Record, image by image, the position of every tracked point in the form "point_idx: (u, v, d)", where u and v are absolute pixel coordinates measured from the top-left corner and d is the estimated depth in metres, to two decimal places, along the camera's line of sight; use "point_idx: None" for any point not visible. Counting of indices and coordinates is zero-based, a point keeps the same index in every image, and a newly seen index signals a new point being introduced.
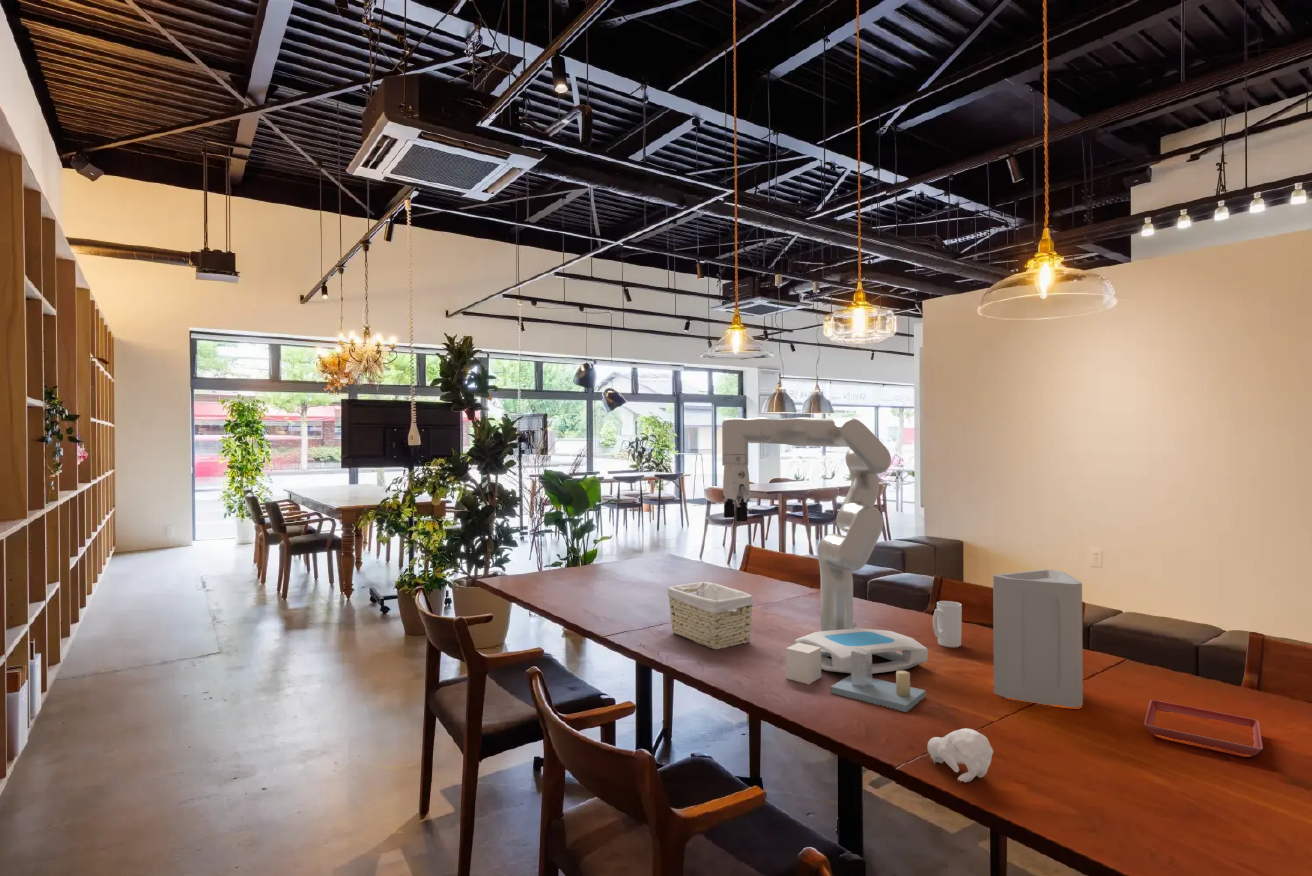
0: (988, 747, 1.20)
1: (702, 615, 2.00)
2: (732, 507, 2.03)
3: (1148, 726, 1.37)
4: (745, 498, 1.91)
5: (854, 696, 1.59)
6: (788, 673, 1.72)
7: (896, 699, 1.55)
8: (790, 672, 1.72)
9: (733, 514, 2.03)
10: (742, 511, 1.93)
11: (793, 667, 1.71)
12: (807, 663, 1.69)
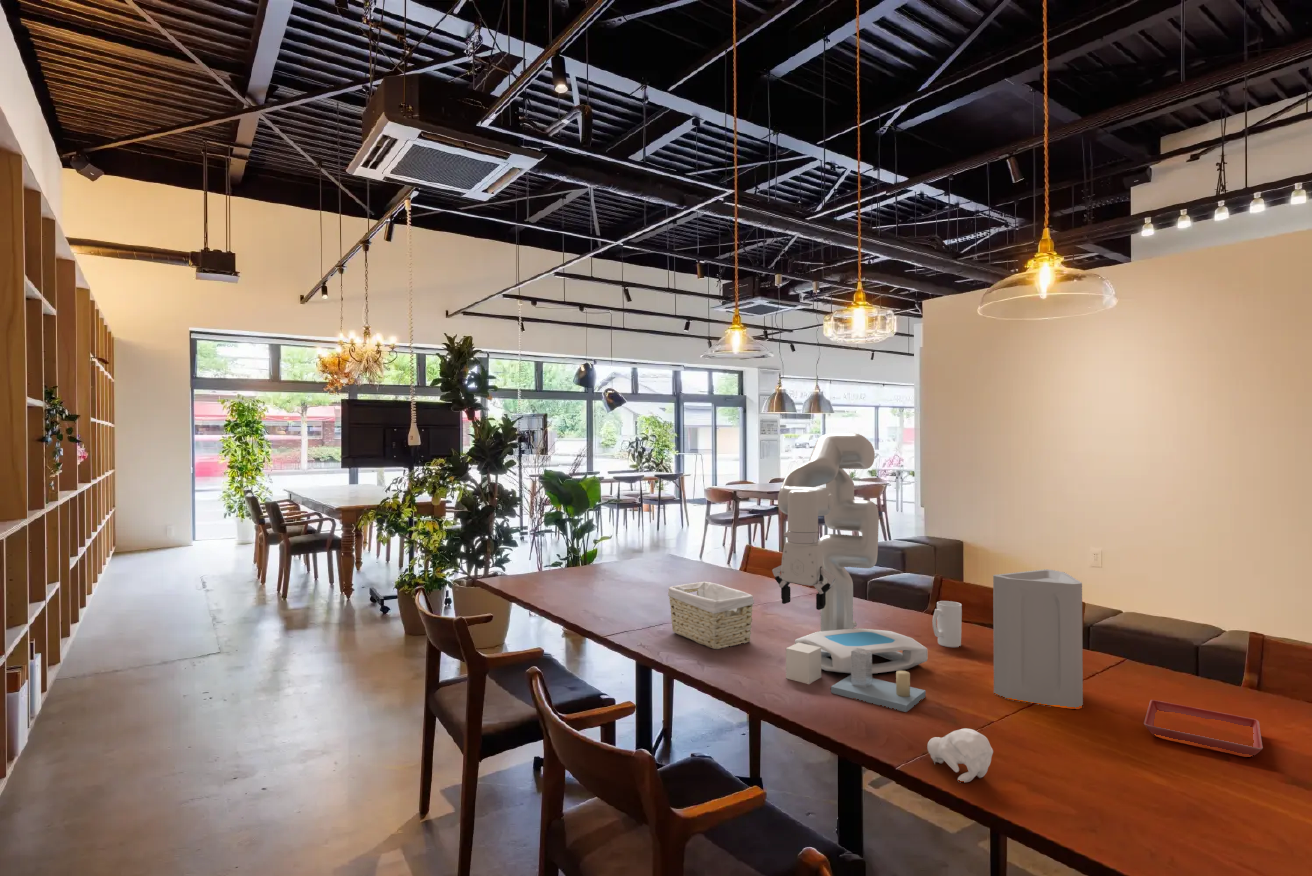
0: (988, 747, 1.20)
1: (702, 615, 2.00)
2: None
3: (1148, 726, 1.37)
4: None
5: (854, 696, 1.59)
6: (788, 673, 1.72)
7: (896, 699, 1.55)
8: (790, 672, 1.72)
9: None
10: None
11: (793, 667, 1.71)
12: (807, 663, 1.69)
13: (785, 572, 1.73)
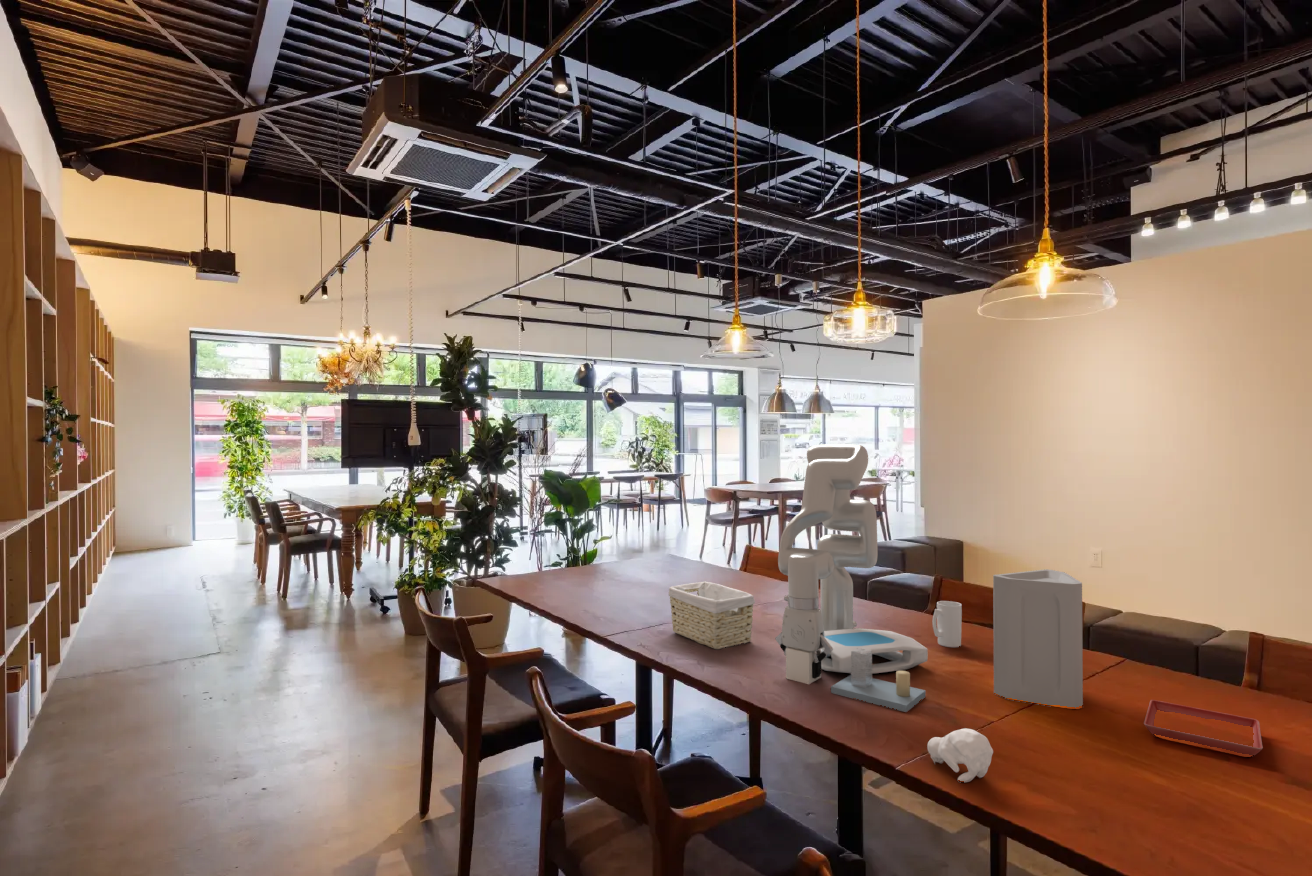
0: (988, 747, 1.20)
1: (703, 615, 2.00)
2: None
3: (1148, 726, 1.37)
4: None
5: (854, 696, 1.59)
6: (788, 673, 1.72)
7: (896, 699, 1.55)
8: (790, 672, 1.72)
9: None
10: None
11: (793, 667, 1.71)
12: (807, 663, 1.69)
13: (785, 637, 1.73)
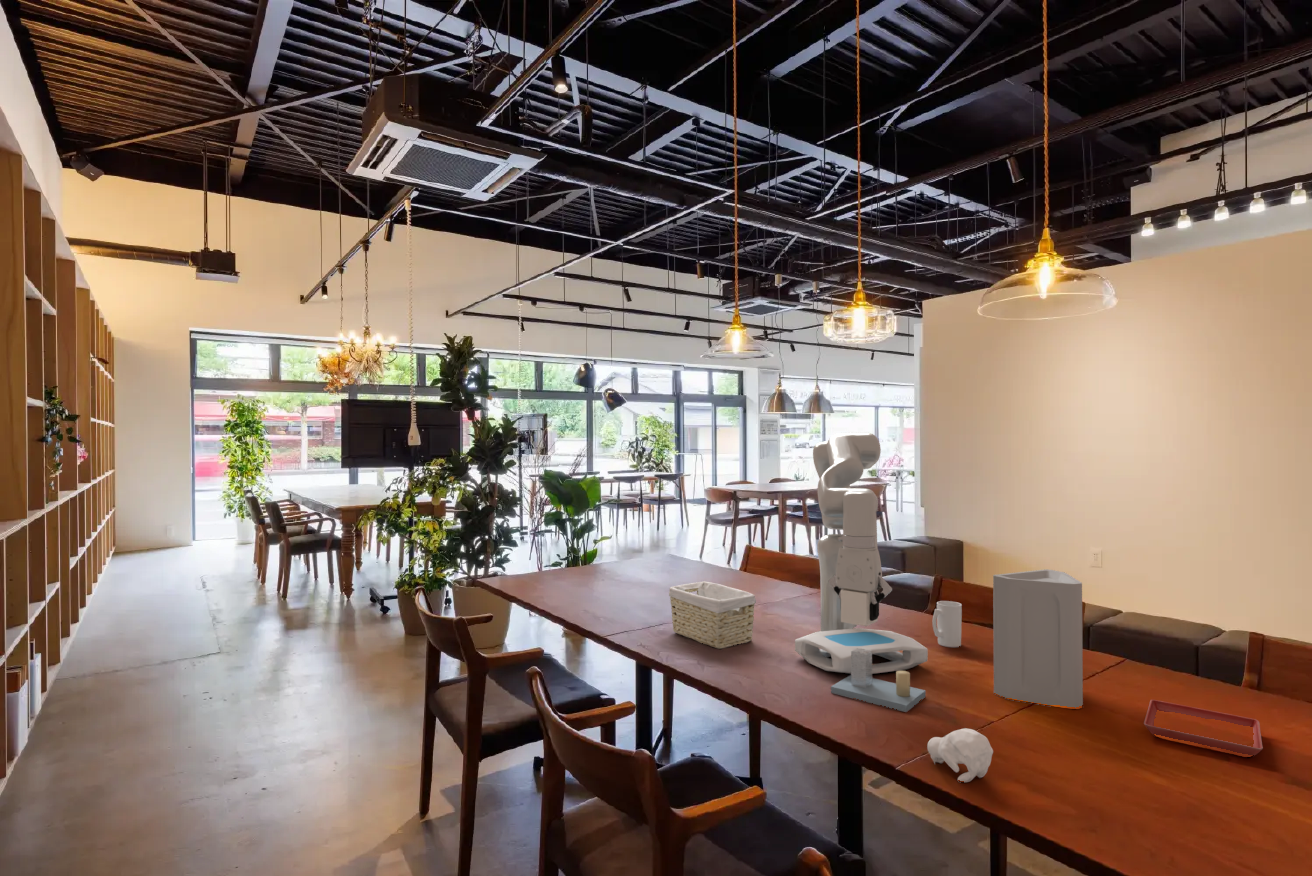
0: (988, 747, 1.20)
1: (705, 615, 2.00)
2: None
3: (1148, 726, 1.37)
4: None
5: (854, 696, 1.59)
6: (843, 616, 1.63)
7: (896, 699, 1.55)
8: (845, 615, 1.63)
9: None
10: None
11: (849, 609, 1.63)
12: (864, 604, 1.60)
13: (840, 578, 1.65)
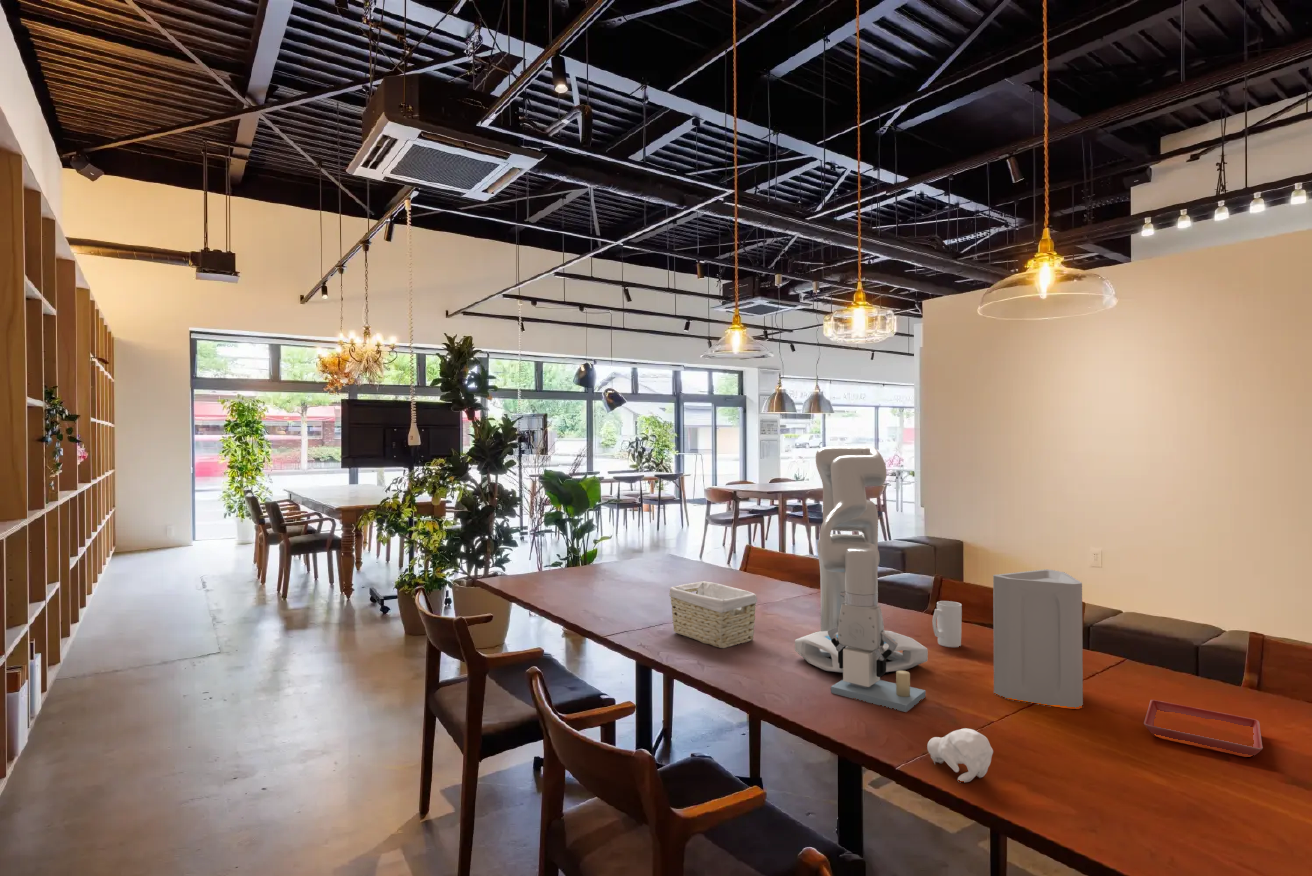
0: (988, 747, 1.20)
1: (708, 614, 2.00)
2: None
3: (1148, 726, 1.37)
4: None
5: (854, 696, 1.59)
6: (845, 675, 1.63)
7: (896, 699, 1.55)
8: (847, 674, 1.63)
9: None
10: None
11: (851, 669, 1.62)
12: (867, 665, 1.60)
13: (843, 635, 1.64)
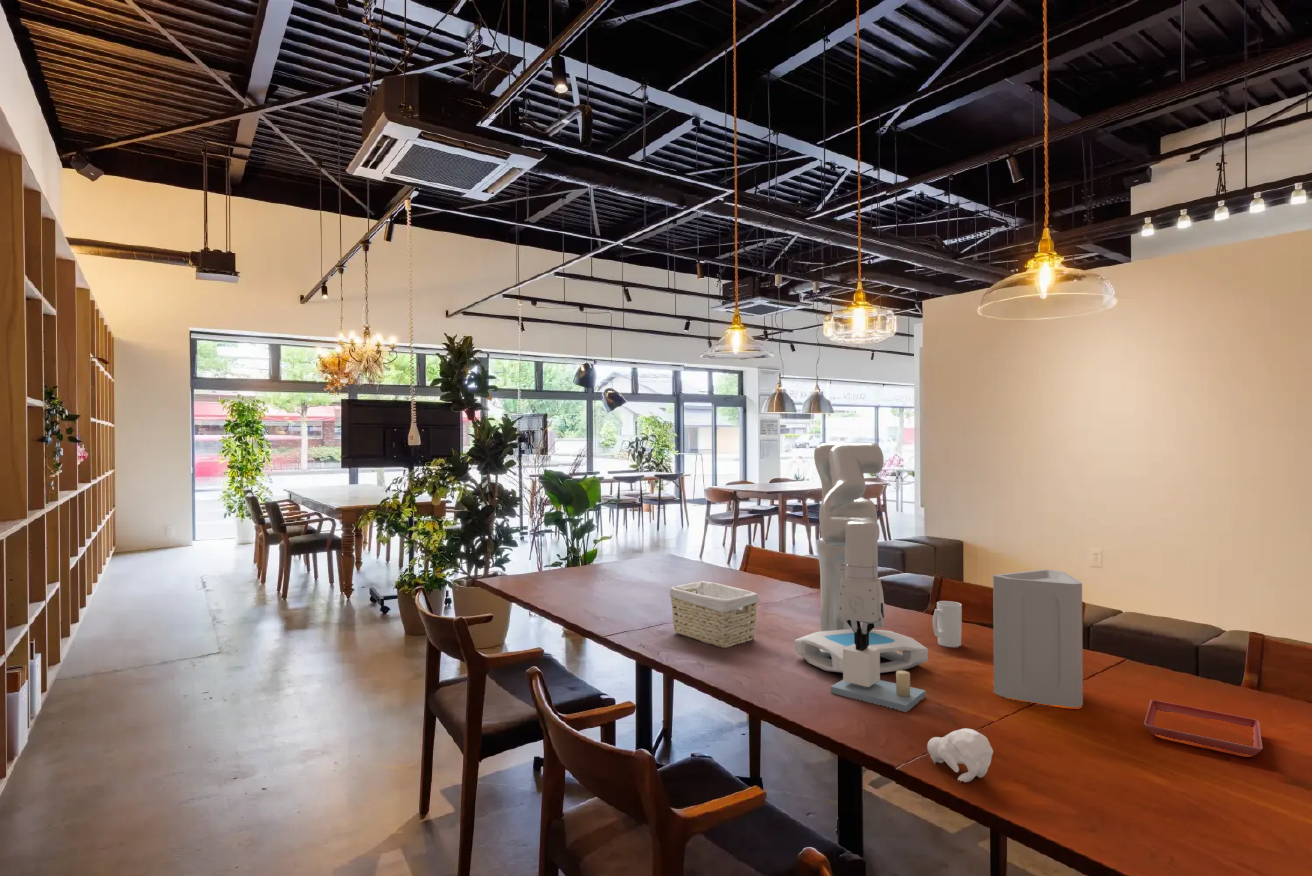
0: (988, 747, 1.20)
1: (710, 614, 2.00)
2: None
3: (1148, 726, 1.37)
4: None
5: (854, 696, 1.59)
6: (845, 675, 1.63)
7: (896, 699, 1.55)
8: (847, 674, 1.63)
9: None
10: None
11: (851, 669, 1.62)
12: (867, 665, 1.60)
13: (842, 608, 1.64)
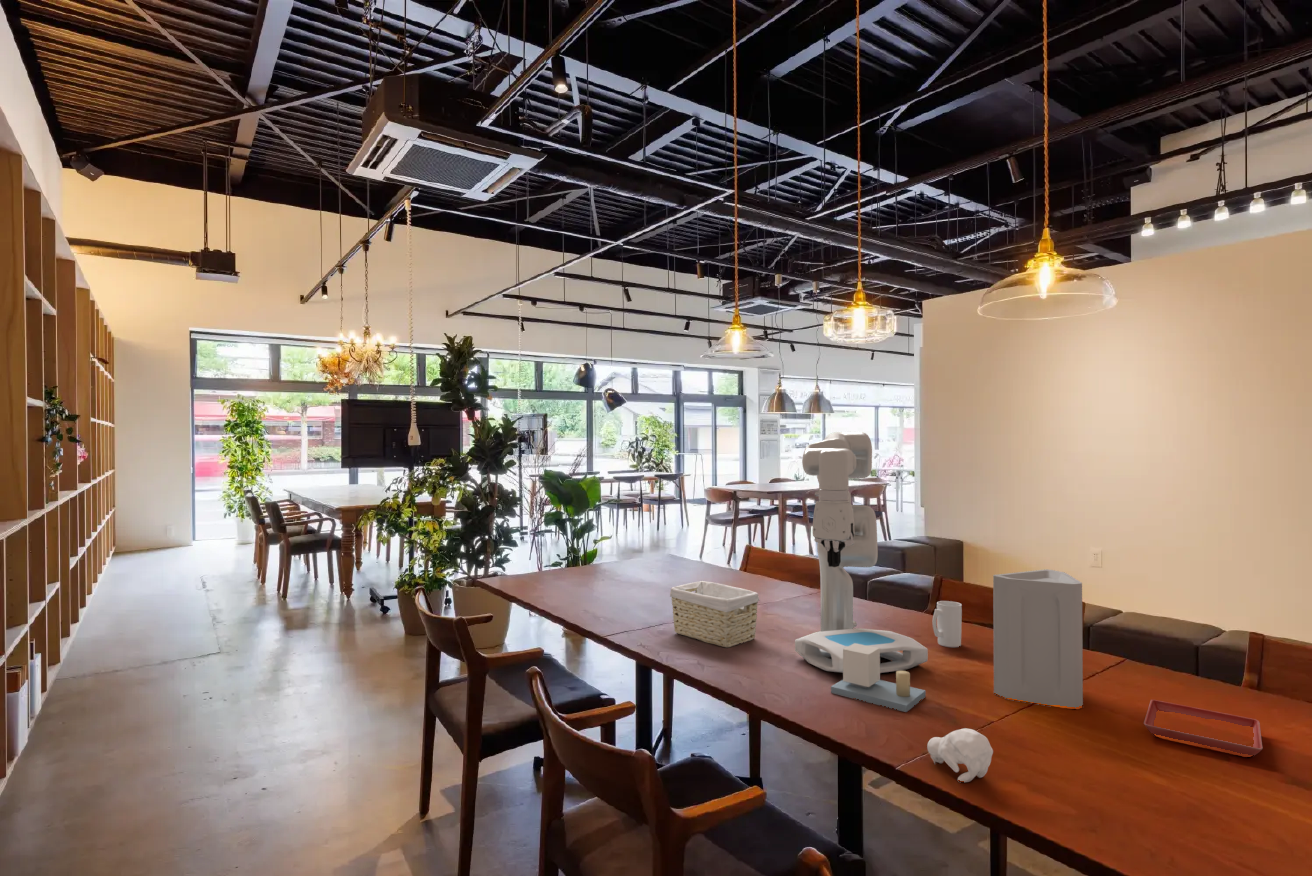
0: (988, 747, 1.20)
1: (712, 614, 2.01)
2: None
3: (1148, 726, 1.37)
4: None
5: (854, 696, 1.59)
6: (845, 675, 1.63)
7: (896, 699, 1.55)
8: (847, 674, 1.63)
9: None
10: None
11: (851, 669, 1.62)
12: (867, 665, 1.60)
13: (817, 529, 1.80)
